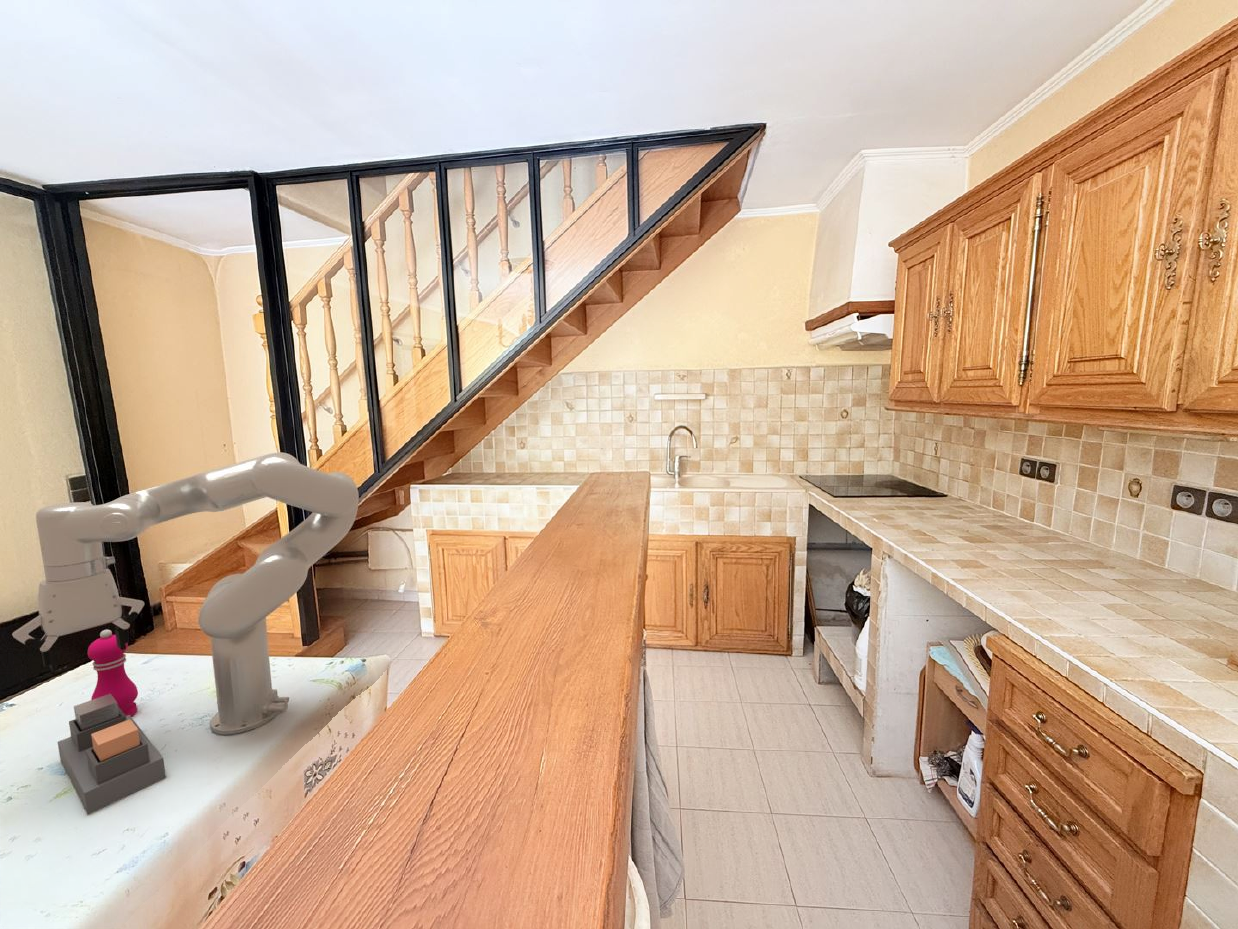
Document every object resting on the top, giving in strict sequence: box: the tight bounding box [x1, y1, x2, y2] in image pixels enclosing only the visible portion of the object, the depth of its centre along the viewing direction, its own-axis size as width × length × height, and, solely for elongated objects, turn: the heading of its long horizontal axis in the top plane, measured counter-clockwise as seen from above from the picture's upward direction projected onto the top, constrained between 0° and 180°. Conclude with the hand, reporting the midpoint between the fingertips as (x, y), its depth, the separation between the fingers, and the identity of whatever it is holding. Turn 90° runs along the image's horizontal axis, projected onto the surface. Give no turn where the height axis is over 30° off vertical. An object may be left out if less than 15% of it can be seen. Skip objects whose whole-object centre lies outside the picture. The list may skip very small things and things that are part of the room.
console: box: [57, 707, 167, 816], centre depth 93 cm, size 22×10×8 cm, turn 56°
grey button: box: [73, 694, 119, 730], centre depth 96 cm, size 5×5×3 cm
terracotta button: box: [91, 719, 140, 761], centre depth 88 cm, size 5×5×3 cm
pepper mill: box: [87, 629, 139, 718], centre depth 107 cm, size 7×7×20 cm
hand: (89, 657), depth 95 cm, fingers open, 8 cm apart
